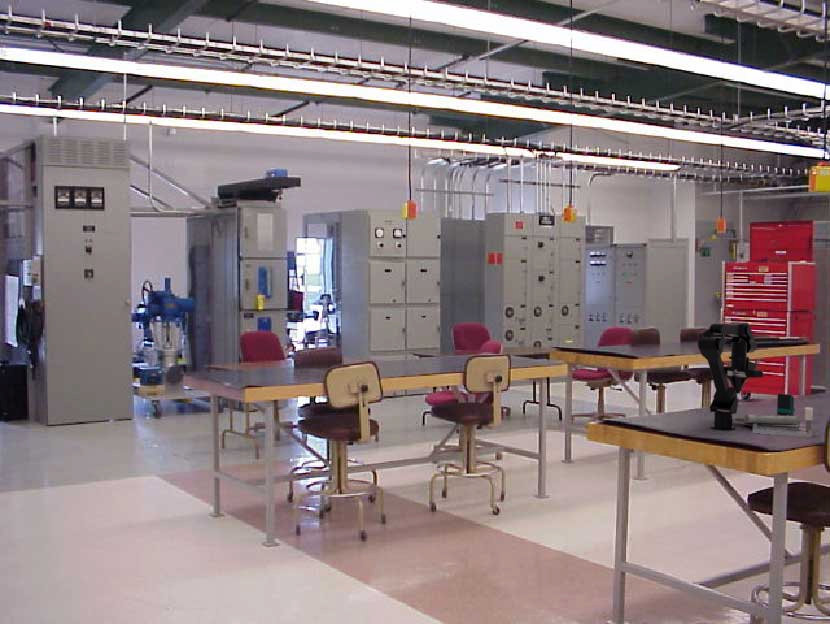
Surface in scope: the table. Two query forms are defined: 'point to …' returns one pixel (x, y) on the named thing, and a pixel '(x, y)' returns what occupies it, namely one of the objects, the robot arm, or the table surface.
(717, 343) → the robot arm
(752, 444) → the table surface
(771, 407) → the table surface
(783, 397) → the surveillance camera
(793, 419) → the geiger counter
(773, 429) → the fader console
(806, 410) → the cap
